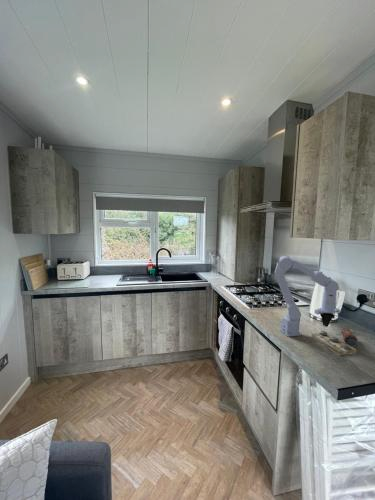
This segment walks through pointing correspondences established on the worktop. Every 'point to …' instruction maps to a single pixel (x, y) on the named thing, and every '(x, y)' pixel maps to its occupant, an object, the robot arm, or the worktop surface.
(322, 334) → the button left
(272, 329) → the worktop surface
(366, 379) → the worktop surface
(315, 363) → the worktop surface
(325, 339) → the button board
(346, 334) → the supplement bottle
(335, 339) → the button middle
